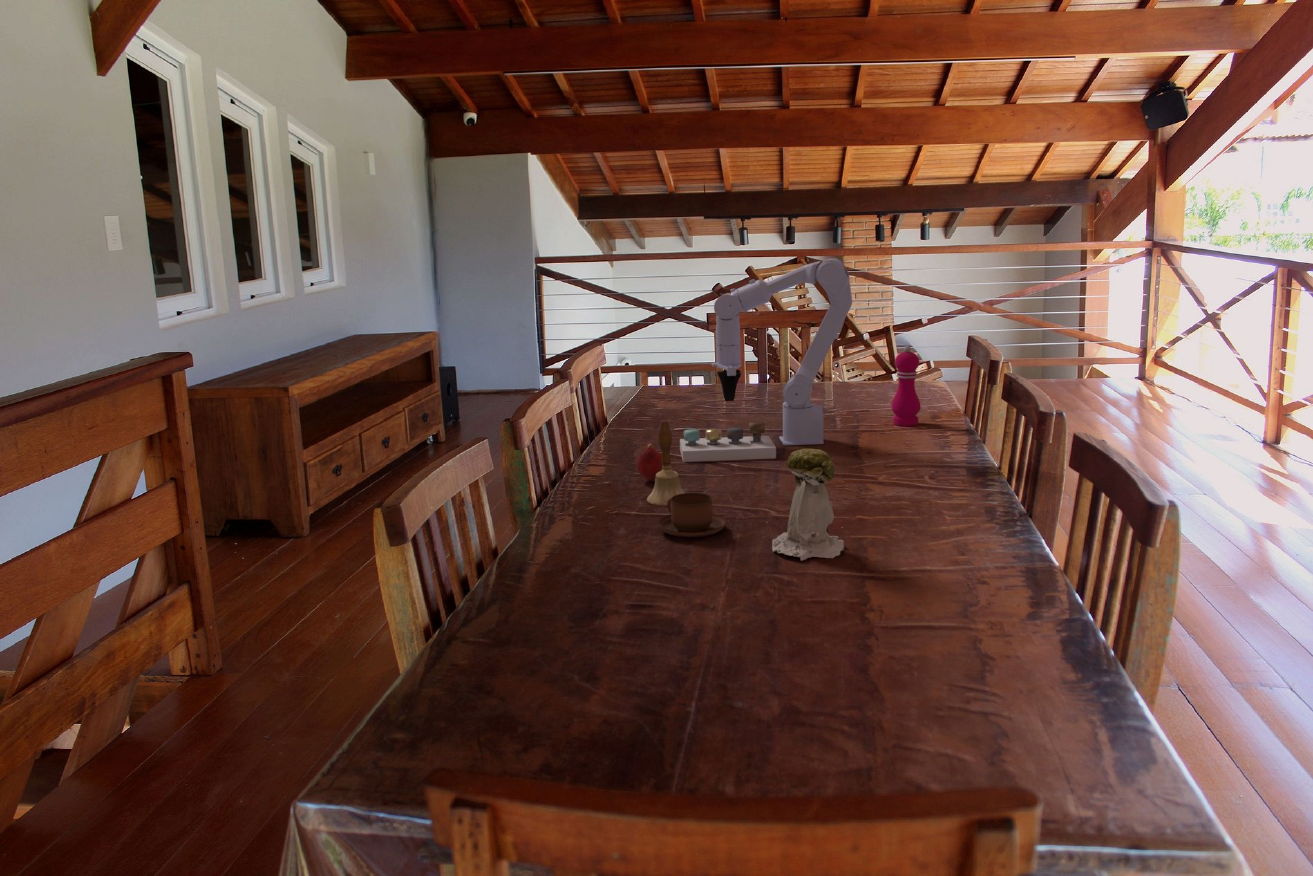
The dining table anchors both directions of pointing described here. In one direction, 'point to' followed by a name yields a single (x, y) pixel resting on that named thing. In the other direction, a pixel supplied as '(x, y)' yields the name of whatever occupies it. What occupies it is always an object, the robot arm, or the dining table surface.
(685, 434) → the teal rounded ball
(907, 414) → the pepper mill
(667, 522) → the cup and saucer
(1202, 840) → the dining table surface
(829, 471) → the moss topped figurine
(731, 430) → the dark grey rounded knob
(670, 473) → the hand bell
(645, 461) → the onion
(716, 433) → the brass dome cap
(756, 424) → the walnut key
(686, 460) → the console
